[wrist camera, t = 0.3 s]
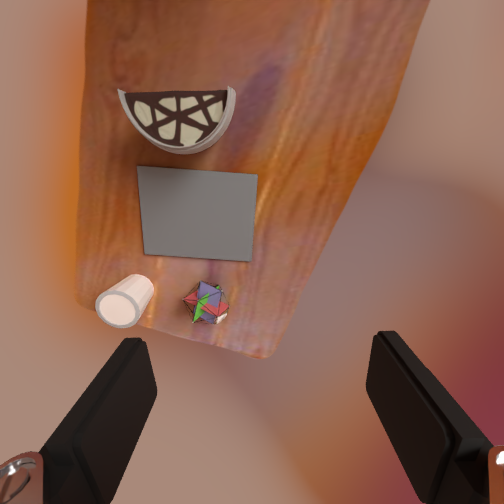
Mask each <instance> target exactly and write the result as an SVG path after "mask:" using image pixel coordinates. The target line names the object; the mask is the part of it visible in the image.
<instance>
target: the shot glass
mask: <svg viewBox="0 0 504 504" xmlns="http://www.w3.org/2000/svg"><path fill="white" fill-rule="evenodd" d="M153 292H154V288H153V284H152V283H151V282H150V280H149V279H148V278H146V277H144V276H142V275H138V274H134V275H130V276H128V277H126V278H125V279H123V280H122V281H120V282H119V283H117V284H116V285H114V286H112V287H111V288H109V289H108V290H106V291H105V292H103V293H102V294H100V295H99V297H98V298H97V300H96V305H95V309H96V311H97V314H98V316H99V317H100V318H101V319H102V320H103V321H104V322H105V323H107V324H108V325H110V326H112V327H116V328H129V327H131V326H132V325H134V324H136V322H137V321H138V320H139V318H140V316H141V315H142V313H143V311H144V309H145V308H146V306H147V304H148V303H149V301H150V299H151V297H152V296H153Z"/></svg>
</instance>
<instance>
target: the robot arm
mask: <svg viewBox="0 0 504 504" xmlns="http://www.w3.org/2000/svg"><path fill="white" fill-rule="evenodd" d="M366 391H367V393H368V396H369V398H370V400H371V402H372V404H373V406H374V408H375V410H376V412H377V414H378V416H379V418H380V421H381V423H382V425H383V427H384V429H385V431H386V433H387V435H388V436H389V439H390V441H391V443H392V445H393V447H394V449H395V451H396V453H397V455H398V458H399V460H400V462H401V464H402V466H403V468H404V470H405V472H406V474H407V476H408V478H409V480H410V482H411V484H412V486H413V488H414V490H415V492H416V494H417V496H418V498H419V499H420V501H421V502H422V503H426V504H504V446H503V445H500V446H493V445H492V444H491V442H490V441H489V440H488V439H487V437H486V436H485V435H484V434H483V433H482V432H481V430H480V429H479V428H478V427H477V426H476V425H475V423H474V422H473V421H472V420H471V419H470V417H469V416H468V415H467V414H466V413H465V411H464V410H463V409H462V408H461V407H460V406H459V404H458V403H457V402H456V401H455V400H454V399H453V397H452V396H451V395H450V394H449V393H448V391H447V390H446V389H445V388H444V387H443V385H442V384H441V383H440V382H439V381H438V380H437V378H436V377H435V376H434V375H433V374H432V373H431V371H430V370H429V369H428V368H426V367H425V366H424V364H423V363H422V362H421V361H420V360H419V359H418V358H417V356H416V355H415V354H414V353H413V351H412V350H411V349H410V348H409V347H408V345H407V344H406V343H405V342H404V341H403V339H402V338H401V337H400V336H399V335H398V333H396V332H395V331H379V332H378V333H377V335H375V336H374V337H373V342H372V349H371V355H370V361H369V367H368V373H367V380H366ZM156 396H157V386H156V382H155V378H154V374H153V369H152V365H151V361H150V357H149V353H148V349H147V345H146V342H145V341H142V339H141V338H125V339H124V340H123V341H122V342H121V344H120V345H119V346H118V348H117V349H116V350H115V352H114V353H113V354H112V356H111V357H110V358H109V360H108V361H107V362H106V364H105V365H104V366H103V368H102V369H101V370H100V372H99V373H98V374H97V376H96V377H95V378H94V379H93V381H92V382H91V383H90V385H89V386H88V388H87V389H86V390H85V391H84V393H83V394H82V395H81V397H80V398H79V399H78V401H77V402H76V403H75V405H74V406H73V407H72V409H71V410H70V411H69V413H68V414H67V415H66V417H65V418H64V419H63V421H62V422H61V423H60V425H59V426H58V427H57V428H56V430H55V431H54V432H53V434H52V435H51V436H50V438H49V439H48V440H47V442H46V443H45V444H44V446H43V447H42V448H41V450H40V451H39V452H32V451H30V452H25V453H21V454H20V455H17V456H15V457H13V458H11V459H9V460H8V461H6V462H4V463H3V464H2V465H0V504H110V503H111V501H112V500H113V498H114V495H115V493H116V491H117V488H118V486H119V484H120V481H121V479H122V477H123V474H124V472H125V470H126V467H127V465H128V463H129V460H130V458H131V455H132V453H133V451H134V449H135V446H136V444H137V442H138V439H139V437H140V435H141V432H142V430H143V428H144V425H145V422H146V420H147V418H148V416H149V413H150V411H151V409H152V406H153V404H154V402H155V399H156Z"/></svg>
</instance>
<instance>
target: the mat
mask: <svg viewBox="0 0 504 504" xmlns="http://www.w3.org/2000/svg"><path fill="white" fill-rule="evenodd" d="M137 175H138V186H139V197H140V208H141V219H142V230H143V241H144V252H145V254H151V255H165V256H179V257H194V258H208V259H222V260H236V261H251V260H252V246H253V233H254V219H255V206H256V192H257V179H258V175H256V174H243V173H229V172H216V171H202V170H188V169H175V168H161V167H148V166H137Z"/></svg>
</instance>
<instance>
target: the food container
mask: <svg viewBox="0 0 504 504" xmlns="http://www.w3.org/2000/svg"><path fill="white" fill-rule="evenodd" d="M117 90H118V94H119V98H120V101H121V103H122V106H123V108H124V111H125V112H126V114H127V116H128V118H129V120H130V121H131V123H132V124H133V125H134V127H135V128H136V129H137V130H138V131H139V132H140V133H141V134H142V135H143V136H144V137H145V138H146V139H147V140H149V141H150V142H151V143H152V144H154V145H156V146H157V147H159V148H161V149H163V150H165V151H168V152H171V153H175V154H194V153H197V152H200V151H203V150H205V149H207V148H209V147H210V146H212V145H213V144H214V143H216V142H217V141H218V140H219V138H220V137H221V136H222V135H223V134H224V132H225V131H226V129H227V127H228V125H229V123H230V121H231V118H232V115H233V112H234V106H235V97H236V92H235V90H234V89H233V88H230V87H229V86H228V90H217V91H165V92H140V93H126V92H124V91H121V90H119V89H117Z"/></svg>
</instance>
